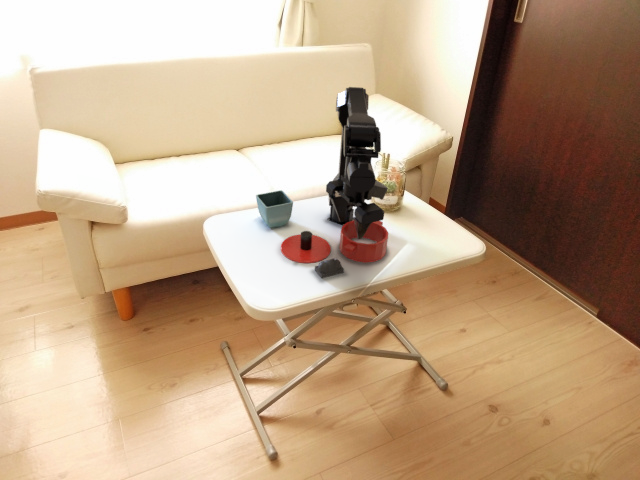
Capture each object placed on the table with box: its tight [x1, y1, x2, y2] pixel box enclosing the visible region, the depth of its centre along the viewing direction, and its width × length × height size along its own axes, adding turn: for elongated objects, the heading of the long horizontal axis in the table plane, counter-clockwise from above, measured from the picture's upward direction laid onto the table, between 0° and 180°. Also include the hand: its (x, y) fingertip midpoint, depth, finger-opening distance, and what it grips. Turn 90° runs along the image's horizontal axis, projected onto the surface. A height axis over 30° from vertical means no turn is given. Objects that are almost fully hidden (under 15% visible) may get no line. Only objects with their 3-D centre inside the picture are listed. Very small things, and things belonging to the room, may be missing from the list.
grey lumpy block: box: [314, 257, 345, 279], centre depth 120 cm, size 7×4×4 cm, turn 117°
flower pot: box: [255, 189, 294, 229], centre depth 138 cm, size 9×9×9 cm
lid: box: [280, 230, 332, 264], centre depth 128 cm, size 14×14×6 cm
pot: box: [338, 220, 389, 264], centre depth 129 cm, size 13×19×6 cm
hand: (350, 229), depth 116 cm, fingers open, 9 cm apart
